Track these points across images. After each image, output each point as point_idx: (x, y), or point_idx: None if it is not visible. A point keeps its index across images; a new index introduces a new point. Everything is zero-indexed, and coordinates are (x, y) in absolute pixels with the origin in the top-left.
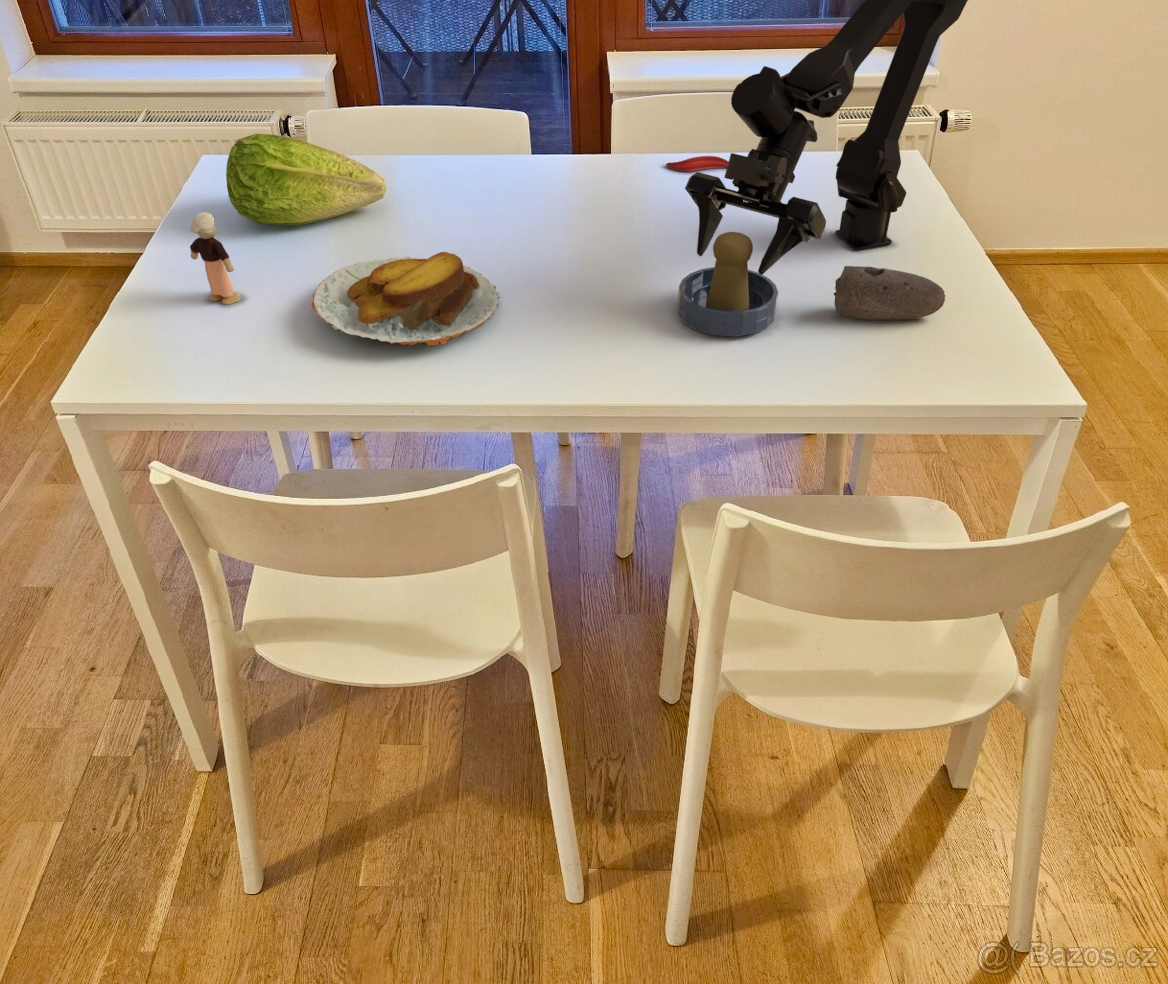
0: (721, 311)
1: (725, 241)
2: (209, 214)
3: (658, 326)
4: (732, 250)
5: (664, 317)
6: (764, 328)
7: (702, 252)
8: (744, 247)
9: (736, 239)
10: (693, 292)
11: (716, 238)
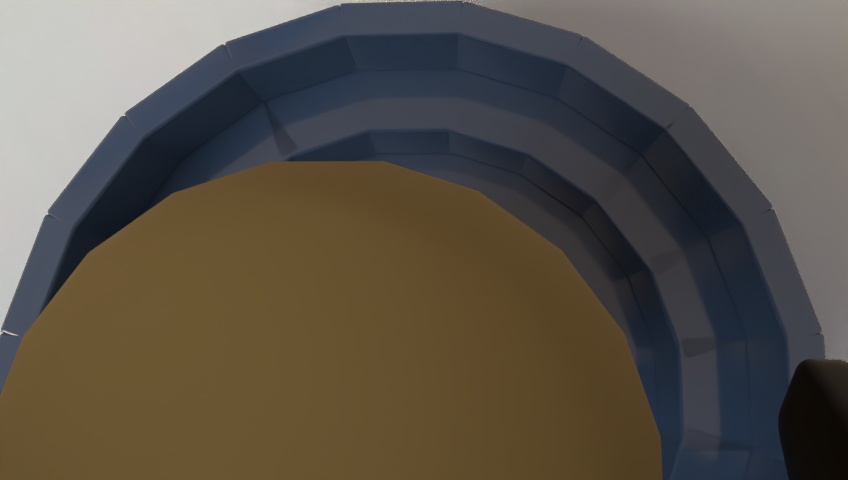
0: (271, 43)
1: (354, 265)
2: None
3: (697, 28)
4: (178, 194)
5: (730, 140)
6: None
7: (796, 443)
8: (11, 366)
9: (169, 419)
10: (685, 358)
11: (645, 439)
